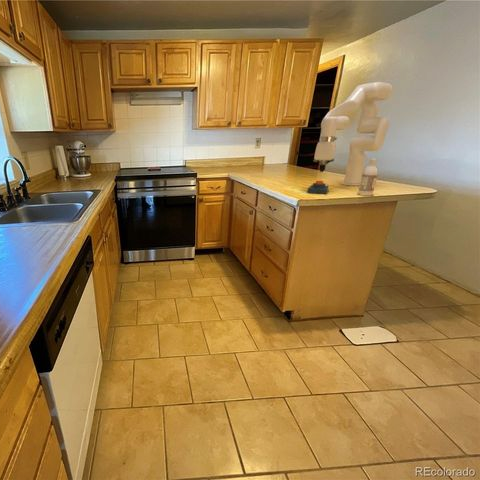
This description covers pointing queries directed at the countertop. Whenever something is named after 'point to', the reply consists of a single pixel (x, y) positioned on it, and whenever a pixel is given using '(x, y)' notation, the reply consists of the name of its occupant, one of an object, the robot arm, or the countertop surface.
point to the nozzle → (319, 182)
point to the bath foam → (368, 179)
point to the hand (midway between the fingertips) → (321, 171)
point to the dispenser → (318, 188)
